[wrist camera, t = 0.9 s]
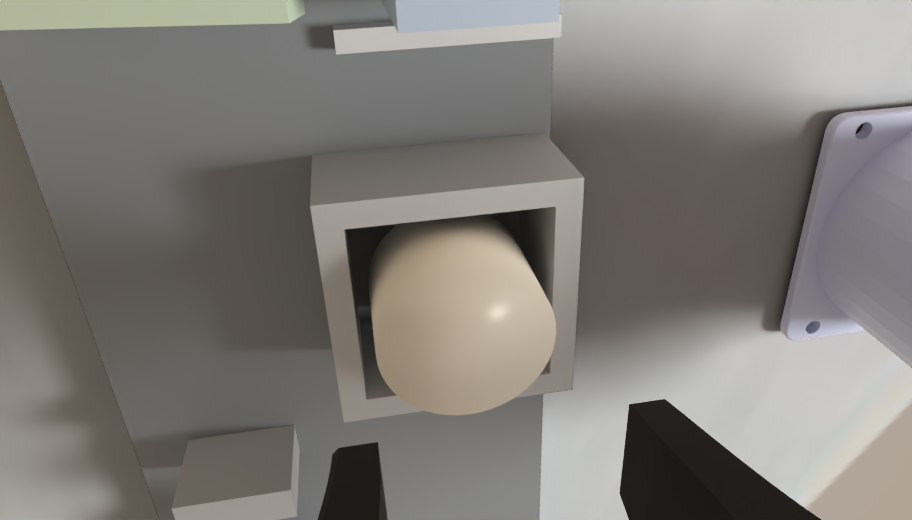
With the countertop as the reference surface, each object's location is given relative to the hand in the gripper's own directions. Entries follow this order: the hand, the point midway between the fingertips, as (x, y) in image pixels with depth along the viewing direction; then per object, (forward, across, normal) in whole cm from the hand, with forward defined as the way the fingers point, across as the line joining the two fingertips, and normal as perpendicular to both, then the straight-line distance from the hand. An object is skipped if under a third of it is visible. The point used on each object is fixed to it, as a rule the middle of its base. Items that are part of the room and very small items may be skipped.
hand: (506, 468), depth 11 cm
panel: (+10, +3, +3) cm, 11 cm away
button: (+6, 0, 0) cm, 6 cm away
